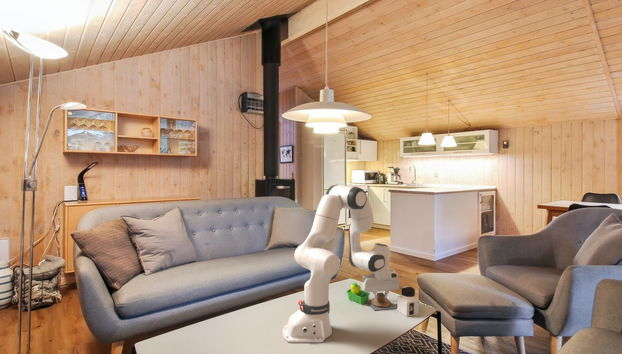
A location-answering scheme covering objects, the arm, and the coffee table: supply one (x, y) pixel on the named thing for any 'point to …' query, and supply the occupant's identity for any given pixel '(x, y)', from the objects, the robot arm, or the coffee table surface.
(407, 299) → the container
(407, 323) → the coffee table surface
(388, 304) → the lid
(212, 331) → the coffee table surface
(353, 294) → the fruit basket
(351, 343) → the coffee table surface
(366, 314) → the coffee table surface
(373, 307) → the mat
